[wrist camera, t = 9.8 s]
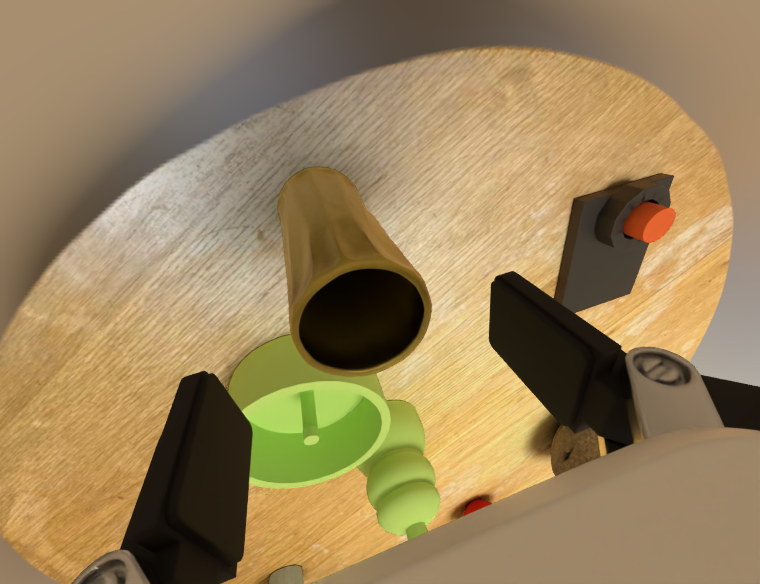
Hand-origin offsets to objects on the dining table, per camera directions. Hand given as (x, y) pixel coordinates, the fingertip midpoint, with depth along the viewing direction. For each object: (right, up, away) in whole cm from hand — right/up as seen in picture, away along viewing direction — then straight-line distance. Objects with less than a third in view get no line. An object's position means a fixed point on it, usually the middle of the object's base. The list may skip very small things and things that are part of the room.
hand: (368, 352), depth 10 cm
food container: (-4, -11, +24) cm, 27 cm away
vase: (-4, +8, +13) cm, 16 cm away
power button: (+24, +9, +18) cm, 32 cm away
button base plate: (+25, +7, +23) cm, 34 cm away
